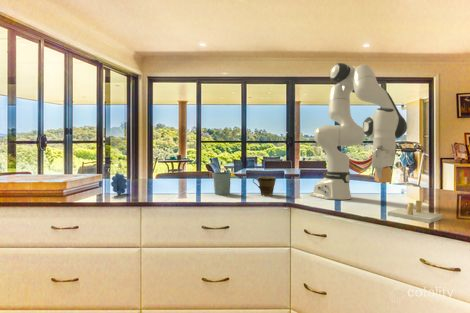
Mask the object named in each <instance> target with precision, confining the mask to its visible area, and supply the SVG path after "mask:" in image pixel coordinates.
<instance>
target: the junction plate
mask: <svg viewBox="0 0 470 313" xmlns="http://www.w3.org/2000/svg"><path fill="white" fill-rule="evenodd" d="M422 204H423V202H422V200H416V201H415V205H414V203H413V202H407V208H404V207H399V208H395V209H392V210H388V211H387V216H390V217H395V218H396V217H397V218H402V219H406V220H412V221H416V222H417V221H418V222H422V223H427V224H431V223H434V222H436V221H439V220H442V219H443V214H439V213H434V212H428V211H422V208H423V207H422ZM414 206H415V209H414Z"/></svg>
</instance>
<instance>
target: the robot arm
mask: <svg viewBox="0 0 470 313" xmlns="http://www.w3.org/2000/svg"><path fill="white" fill-rule="evenodd" d="M329 79H330V80H331V81H332V82H334V83H335V84H334V85H333V86H332V87H331V89H330V92H329V98H328V116H329V118H330V119H331V120H332V121H334V122H336V123H337V124H336V125H335V124H334V125H331V124H329V125H321V126H318V127H317V128H316V129H315V130H314V134H313V138H314V141H315V142H316V144H318V145H319V146H320V147H321V148H322V150H323V151H324V152H325V154H326V159H327V170H326V171H324V172H323V175H324V177H323V178H322V179H321V180H319V181H318V182H317V183H315V184H314V187H313V192H309V194H308V195H309V196H311V197H317V198H319V199H326V200H341V201H343V200H351V199H352V194H351V190H350V188H351V187H350V181H351V180H350V179H351V172H350V157H349V156H348V155H347V153H345V152H342V151H340V150H339V149H338V147H341V146H342V147H343V146H344V147H345V146H346V147H351V146H359V145H362V144H363V143H364V140H365V139H366V137H370V138H373V140H372V149H373V150H374V151H373V152H372V160H371V167H372V168H373V169H375V168H376V171H377V178H382V177H383V174H382V168H384V167H389V168H391V167H390V166H393V165H394V163H395V159H396V158H395V157H396V149H397V147H398V144H397V141H396V139H399V138H401V137H402V136H403V135H404V134H406V133H407V129H408V123H407V121H406V119H405V118H404V117H403V116H402V114H401V113H400V112H399V109H398V108H397V105H396V104H395V101H394V100H393V98H392V97H391V95H390V94H389V92H388V91H387V90H385V89H384V88H382V86H381V85H380V84H379V83H378V81H377V76H376V75H375V73H374V71H373V69H372V67H371V66H370V65H367V64H359V65H358V66H353V65H349V64H346V63H344V62H338V63H336V64H334V65H333V66H332V67H331V69H330V73H329ZM351 93H354V94H355V96H356V97H357V98H358V99H359V100H360V101H363V102H365V103H369V104H374V105H375V106H376V105H377V106H379V108H376V109H375V112H374V114H372V115H371V116H368V117H366V118H365V119H364V121H363V123H362V126H360V125H359V124H358V123H356V122H355V120H354V119H353V117H352V114H351V102H350V101H351Z"/></svg>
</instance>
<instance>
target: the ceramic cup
mask: <svg viewBox="0 0 470 313" xmlns="http://www.w3.org/2000/svg"><path fill="white" fill-rule="evenodd" d="M254 180H256V181H257V183H258V184H257V183H256V182H254ZM276 180H277V177H276V176H271V175H270V176H269V175H266V176H264V175H263V176H262V175H261V176H258V177H257V178H256V177H254V178H253V179H252V182H253V184H255V186H257V187H258V189H259V190H260V191H259V192H260V195H261V196H263V195H264V197H271V196H270V195H272V196H273V194H274V190H275V188H274V187H275V185H276Z"/></svg>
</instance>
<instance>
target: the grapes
mask: <svg viewBox="0 0 470 313" xmlns="http://www.w3.org/2000/svg"><path fill="white" fill-rule="evenodd" d="M111 180H112V181H111V183H110V185H111V187H112V191H113V192H114V193H116V194H117V195H118V196H119V195H121V194H125V193H126V189H128V185H127V183H128V179H127V178H125V175H124V174H123V173H121V174H120V173H119V172H117V173H116V174H115V175H114V176H112V177H111Z"/></svg>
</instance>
